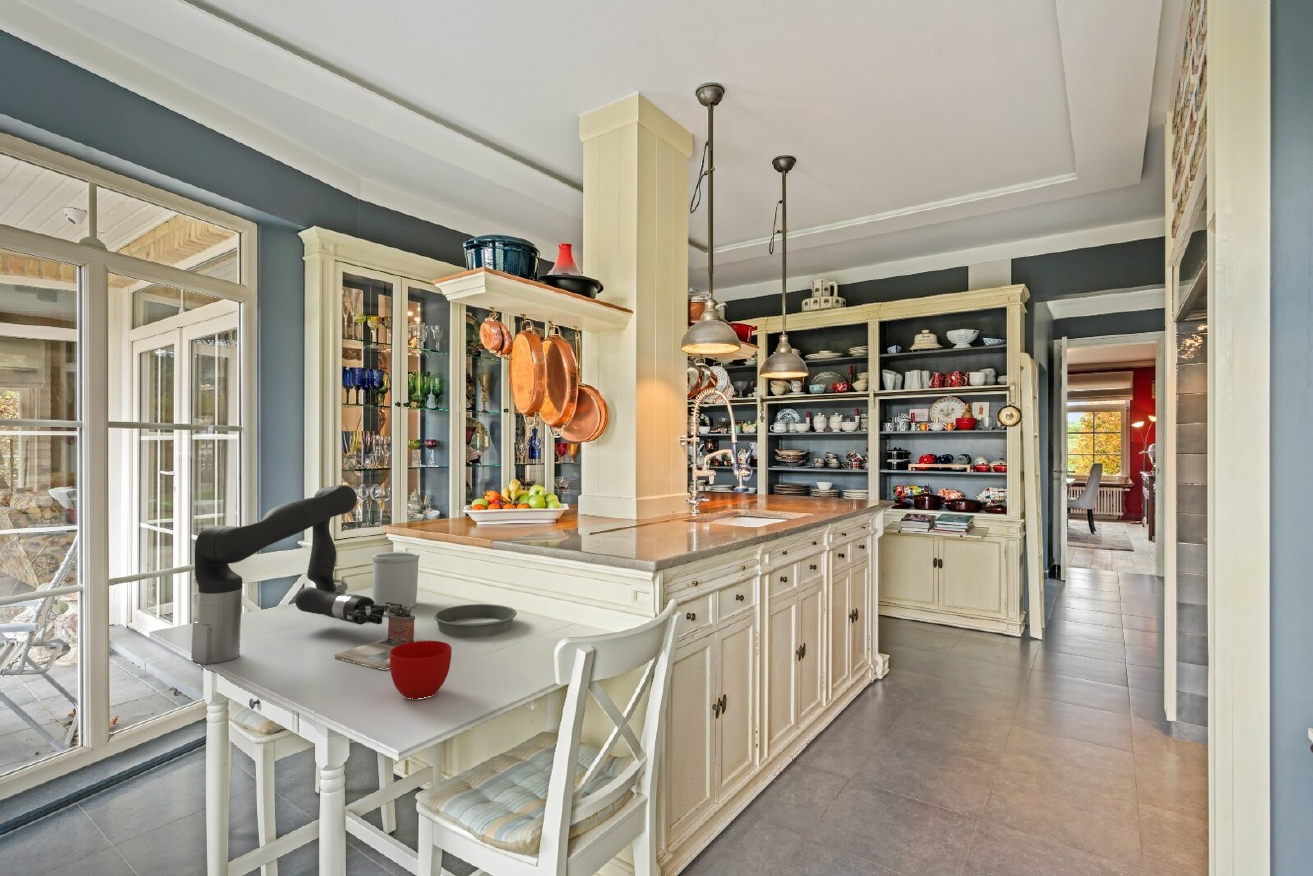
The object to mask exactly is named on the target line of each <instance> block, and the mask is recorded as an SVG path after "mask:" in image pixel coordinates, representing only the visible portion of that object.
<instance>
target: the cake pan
mask: <svg viewBox="0 0 1313 876" xmlns="http://www.w3.org/2000/svg"><path fill="white" fill-rule="evenodd" d="M517 615H518V613H517V611H516V610H515V609H514V608H512V607H510V606H509V607H508V606H504V605H500V604H489V603H487V604H485V603H476V604H475V603H473V604H461V605H455V606H449V607H445V608H443V609H440V610H437V611H436V612H435V613H434V614H433V616H432V617H433V619H434V620H435V621H436V623H437V628H438V631H439V633H441V634H443V635H445V636H450V637H454V636H455V637H457V638H481V636H484V637H490V636H495V634H496V635H499V634H502V633H504V632H507V631H508V630H509V629H510V628H511V625H512V624H513V620H514V618H515V617H516V616H517ZM467 619H470V620H471V619H491V620H492V619H493V620H496V621H491V622H490V621H489V622H470V623H469V622H466V623H465V622H464V623H463V622H461V623H460V622H456V621H459V620H467ZM454 621H455V622H454Z"/></svg>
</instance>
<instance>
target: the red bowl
mask: <svg viewBox="0 0 1313 876" xmlns="http://www.w3.org/2000/svg"><path fill="white" fill-rule="evenodd" d="M452 651H453V649H452V646H451V645H450V643H447V642H444V641H438V640H418V641H417V640H416V641H414V642H410V643H405V644H401V645H398V646H396V647H394V648H393V649H392V650H391V651H390V669H389V670H390V676H391V679H392V682H393V684H394V687H395V688H396V690H397V691H398V692H399V693H400V694H401V695H402V696H403V697H404V696H405V697H407V698H411V699H412V698H413V699H418V698H424V697H428V696H432V695H433V694H435V695H436V693H437V692H438V691H439V690H440V688H441V687H442V686H443V685H444V683H445V681H446V679H447V677H448V674H449V672H450V666H451V662H452ZM432 697H433V696H432Z"/></svg>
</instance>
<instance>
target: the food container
mask: <svg viewBox="0 0 1313 876" xmlns="http://www.w3.org/2000/svg"><path fill="white" fill-rule="evenodd" d="M334 587H335V592H338V593H344V594H346V591H347V590H348V589H349V587H348V584H347V581H346V580H343V579H334Z"/></svg>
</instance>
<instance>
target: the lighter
mask: <svg viewBox="0 0 1313 876" xmlns="http://www.w3.org/2000/svg"><path fill="white" fill-rule="evenodd" d="M391 611H395V613H392V614H388V617H387V618H388V626H387V628H388V629H387V638H388V639H387V643H389V644H394V645H401V644H405V643H410V642H415V639H414V638H415V620H416V616H415V615H412V614H411V613H412V607H411V608H407V607H406V606H402V607H400V606H394V605H393V606H392V607H391Z"/></svg>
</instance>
